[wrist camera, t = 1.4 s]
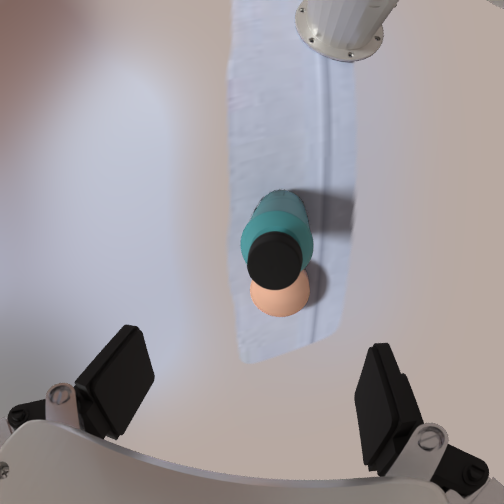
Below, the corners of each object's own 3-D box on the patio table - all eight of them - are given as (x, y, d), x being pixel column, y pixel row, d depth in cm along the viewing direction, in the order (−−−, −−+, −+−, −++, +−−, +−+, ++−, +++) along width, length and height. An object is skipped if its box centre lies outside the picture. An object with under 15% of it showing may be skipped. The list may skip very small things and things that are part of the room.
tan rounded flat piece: (285, 245, 39) (284, 252, 37) (319, 287, 41) (321, 296, 38) (241, 277, 42) (238, 286, 39) (276, 315, 44) (274, 326, 41)
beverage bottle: (261, 183, 37) (229, 214, 18) (310, 191, 36) (328, 230, 18) (255, 229, 39) (221, 299, 21) (302, 237, 39) (309, 314, 20)
